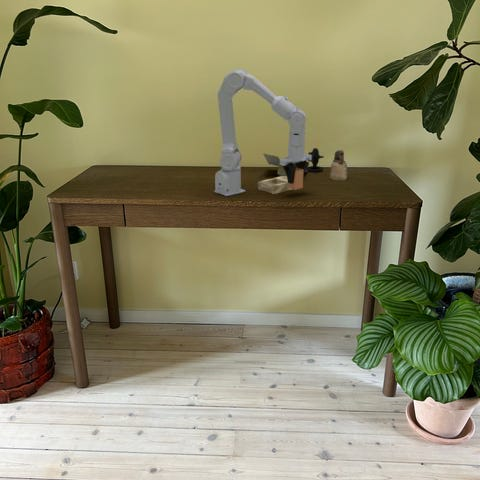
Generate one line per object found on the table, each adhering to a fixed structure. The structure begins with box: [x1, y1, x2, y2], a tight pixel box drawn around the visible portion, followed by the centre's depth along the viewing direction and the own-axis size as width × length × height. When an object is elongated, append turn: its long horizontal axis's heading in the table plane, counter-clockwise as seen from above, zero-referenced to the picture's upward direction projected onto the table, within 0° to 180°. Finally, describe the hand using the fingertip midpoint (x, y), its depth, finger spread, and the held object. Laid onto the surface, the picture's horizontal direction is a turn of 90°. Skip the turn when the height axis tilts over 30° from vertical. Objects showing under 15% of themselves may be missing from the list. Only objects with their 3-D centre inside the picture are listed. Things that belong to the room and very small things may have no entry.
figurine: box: [329, 149, 348, 182], centre depth 200 cm, size 7×7×12 cm
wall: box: [262, 153, 308, 177], centre depth 206 cm, size 19×10×17 cm
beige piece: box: [257, 176, 293, 195], centre depth 189 cm, size 14×9×3 cm, turn 130°
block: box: [287, 168, 304, 191], centre depth 178 cm, size 4×4×7 cm
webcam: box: [306, 147, 325, 173], centre depth 214 cm, size 8×8×10 cm
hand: (295, 182), depth 179 cm, fingers closed on block, 4 cm apart
